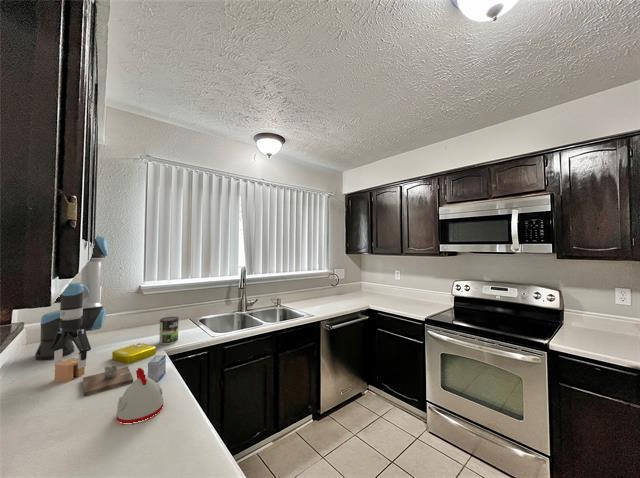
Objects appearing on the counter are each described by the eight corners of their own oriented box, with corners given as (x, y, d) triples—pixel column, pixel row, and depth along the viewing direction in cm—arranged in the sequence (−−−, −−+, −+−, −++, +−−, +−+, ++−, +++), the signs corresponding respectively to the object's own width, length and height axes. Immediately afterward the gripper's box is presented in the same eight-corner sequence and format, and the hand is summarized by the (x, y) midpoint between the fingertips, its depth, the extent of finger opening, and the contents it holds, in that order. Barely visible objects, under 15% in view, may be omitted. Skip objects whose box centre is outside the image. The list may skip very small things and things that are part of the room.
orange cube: (54, 380, 117) (55, 363, 117) (72, 372, 124) (72, 357, 124) (67, 382, 116) (67, 365, 116) (84, 374, 123) (84, 358, 123)
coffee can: (182, 339, 168) (182, 317, 168) (168, 345, 158) (168, 321, 159) (169, 337, 171) (170, 315, 172) (155, 343, 162) (155, 319, 162)
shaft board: (84, 396, 105) (84, 379, 105) (82, 381, 117) (83, 366, 117) (133, 382, 116) (133, 367, 116) (127, 369, 128) (127, 355, 128)
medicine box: (158, 381, 117) (158, 361, 117) (147, 382, 116) (147, 362, 116) (165, 373, 124) (166, 354, 125) (155, 374, 124) (155, 355, 124)
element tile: (110, 360, 139) (110, 350, 139) (140, 349, 153) (140, 341, 153) (127, 365, 133) (127, 355, 133) (157, 354, 147) (157, 345, 147)
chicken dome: (155, 396, 105) (155, 358, 106) (169, 410, 97) (170, 368, 97) (111, 413, 95) (112, 370, 95) (123, 430, 86) (124, 383, 86)
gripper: (40, 318, 119) (38, 367, 119) (84, 321, 114) (82, 372, 113) (59, 314, 127) (58, 360, 126) (101, 317, 122) (100, 364, 121)
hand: (69, 366), depth 120 cm, fingers open, 13 cm apart
